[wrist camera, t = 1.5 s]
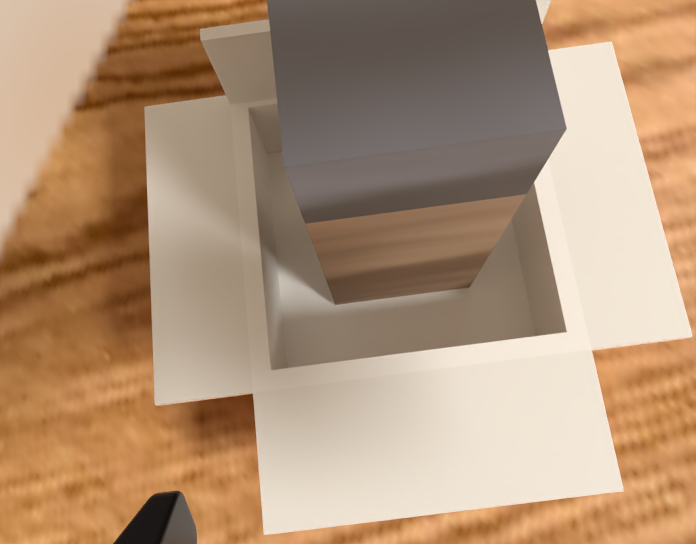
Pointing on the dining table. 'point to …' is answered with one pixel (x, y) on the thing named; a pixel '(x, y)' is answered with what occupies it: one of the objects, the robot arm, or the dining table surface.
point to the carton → (403, 311)
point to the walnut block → (411, 133)
